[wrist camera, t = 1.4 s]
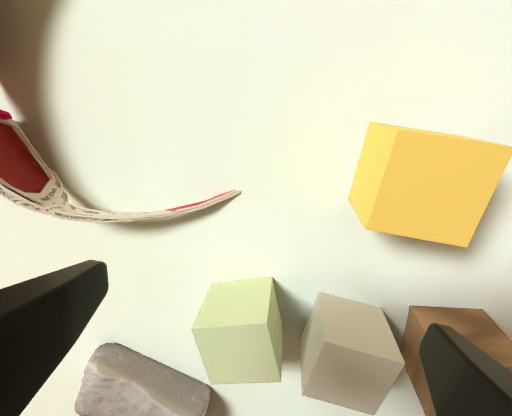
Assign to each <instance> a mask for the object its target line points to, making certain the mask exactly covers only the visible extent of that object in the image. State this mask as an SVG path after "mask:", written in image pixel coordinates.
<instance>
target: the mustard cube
mask: <svg viewBox="0 0 512 416" xmlns="http://www.w3.org/2000/svg"><path fill="white" fill-rule="evenodd" d="M511 155H512V147H510V146H505V145H501V144H496V143H491V142H486V141H481V140H477V139H472V138H467V137H462V136H457V135H452V134H445V133H439V132H432V131H426V130H420V129H413V128H407V127H400V126H394V125H387V124H381V123H374V122H370V123H369V126H368V130H367V133H366V137H365V141H364V144H363V148H362V151H361V155H360V158H359V162H358V165H357V169H356V173H355V176H354V180H353V183H352V187H351V190H350V194H349V197H348V199H349V201H350V202H351V204H352V206H353V208H354V209H355V211H356V213H357V215H358V216H359V218H360V220H361V222H362V223H363V225H364V227H365V229H366V230H372V231H377V232H383V233H388V234H394V235H399V236H405V237H411V238H416V239H422V240H427V241H433V242H439V243H444V244H450V245H455V246H461V247H466V248H467V246H468V244H469V242H470V240H471V238H472V236H473V234H474V232H475V230H476V228H477V226H478V224H479V221H480V219H481V217H482V215H483V213H484V211H485V209H486V207H487V205H488V203H489V201H490V199H491V197H492V195H493V193H494V190H495V188H496V186H497V184H498V182H499V180H500V178H501V176H502V174H503V172H504V170H505V168H506V166H507V164H508V162H509V160H510V157H511Z"/></svg>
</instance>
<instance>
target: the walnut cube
mask: <svg viewBox="0 0 512 416" xmlns="http://www.w3.org/2000/svg"><path fill="white" fill-rule="evenodd" d="M431 323H440V324H445V325H449V326H451V327H452V328H454V329H455V330H456V331H458V332H459V333H460V334H462V335H463V336H464V337H466V338H467V339H468V340H470V341H471V342H473V343H474V344H475V345H477V346H478V347H479V348H481V349H482V350H483V351H485V352H486V353H487V354H489V355H490V356H492V357H493V358H494V359H496V360H497V361H498V362H500V363H501V364H502V365H504V366H505V367H507V368H508V369H509V370H511V371H512V341H511V340H510V339H509V338H508V337H507V336H506V335H505V334H504V333H503V331H502V330H501V329H500V328H499V327H498V326H497V325H496V324H495V323H494V322H493V321H492V319H491V318H490V317H489V316H488V315H487V314H486V313H485V312H484V311H483V310H482V309H466V308H447V307H428V306H410V308H409V313H408V318H407V323H406V329H405V334H404V339H403V344H402V349H401V355H402V357H403V359H404V362H405V367H406V370H407V372H408V375H409V377H410V379H411V382H412V384H413V386H414V389H415V391H416V394H417V396H418V398H419V401H420V403H421V405H422V408H423V410H424V412H425V415H426V416H436V413H435V410H434V407H433V403H432V399H431V396H430V392H429V388H428V384H427V381H426V377H425V373H424V370H423V366H422V362H421V358H420V354H419V346H420V343H421V341H422V339H423V337H424V334H425V332H426V330H427V328H428V326H429V325H430V324H431Z"/></svg>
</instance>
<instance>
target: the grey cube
mask: <svg viewBox="0 0 512 416" xmlns="http://www.w3.org/2000/svg"><path fill="white" fill-rule="evenodd" d="M300 344H301V379H302V395H304V396H308V397H311V398H315V399H318V400H322V401H325V402H329V403H332V404H336V405H339V406H343V407H346V408H350V409H353V410H357V411H360V412H364V413H367V414H371V415H375V413H376V412H377V410H378V408H379V407H380V405H381V403H382V402H383V400H384V398H385V397H386V395H387V393H388V392H389V390H390V388H391V387H392V385H393V384H394V382H395V380H396V379H397V377H398V375H399V374H400V372H401V370H402V369H403V367H404V365H405V362H404V359H403V357H402V355H401V352H400V350H399V348H398V345H397V343H396V341H395V338H394V336H393V334H392V331H391V329H390V327H389V324H388V322H387V320H386V317H385V315H384V313H383V310H382V308H378V307H375V306H371V305H367V304H363V303H360V302H356V301H352V300H349V299H345V298H341V297H337V296H334V295H330V294H326V293H323V292H319V291H318V294H317V297H316V299H315V302H314V304H313V307H312V309H311V312H310V315H309V317H308V320H307V322H306V325H305V327H304V330H303V333H302V335H301V338H300Z"/></svg>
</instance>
